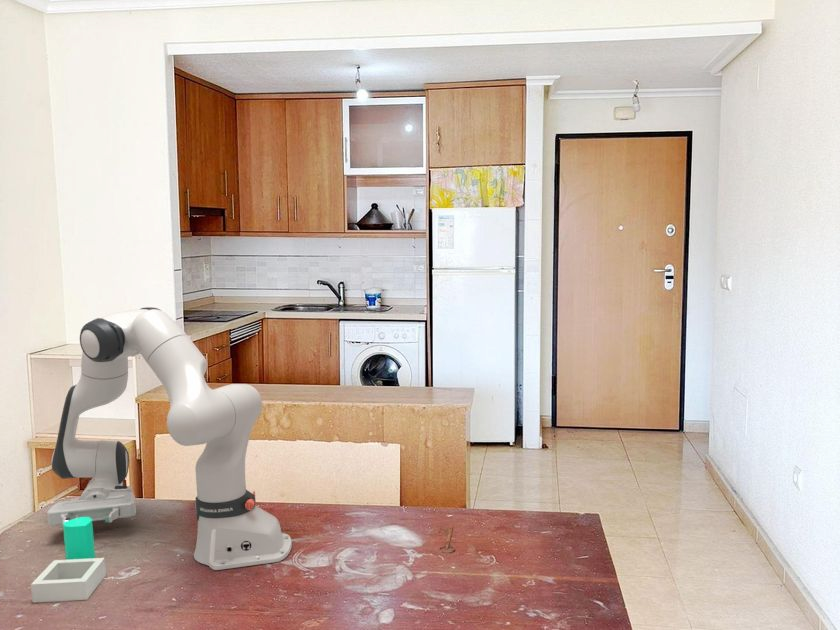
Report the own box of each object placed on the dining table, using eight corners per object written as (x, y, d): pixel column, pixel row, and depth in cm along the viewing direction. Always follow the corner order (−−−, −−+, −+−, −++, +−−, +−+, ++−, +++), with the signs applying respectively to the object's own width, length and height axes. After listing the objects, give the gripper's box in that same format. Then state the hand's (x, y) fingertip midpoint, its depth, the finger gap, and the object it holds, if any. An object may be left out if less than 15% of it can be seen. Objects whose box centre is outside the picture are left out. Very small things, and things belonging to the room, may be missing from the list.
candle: (67, 573, 165) (62, 522, 164) (66, 563, 171) (61, 513, 169) (96, 567, 168) (92, 516, 167) (94, 557, 173) (90, 508, 172)
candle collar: (106, 574, 164) (104, 557, 164) (87, 599, 153) (85, 581, 153) (55, 577, 164) (53, 560, 163) (32, 602, 153) (30, 584, 152)
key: (436, 529, 186) (429, 555, 171) (436, 525, 186) (429, 551, 171) (459, 527, 185) (454, 554, 170) (459, 524, 185) (454, 550, 170)
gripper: (53, 494, 187) (38, 514, 174) (138, 485, 192) (130, 504, 179) (55, 518, 188) (40, 540, 175) (140, 508, 193) (132, 529, 179)
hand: (86, 522), depth 177 cm, fingers open, 8 cm apart
